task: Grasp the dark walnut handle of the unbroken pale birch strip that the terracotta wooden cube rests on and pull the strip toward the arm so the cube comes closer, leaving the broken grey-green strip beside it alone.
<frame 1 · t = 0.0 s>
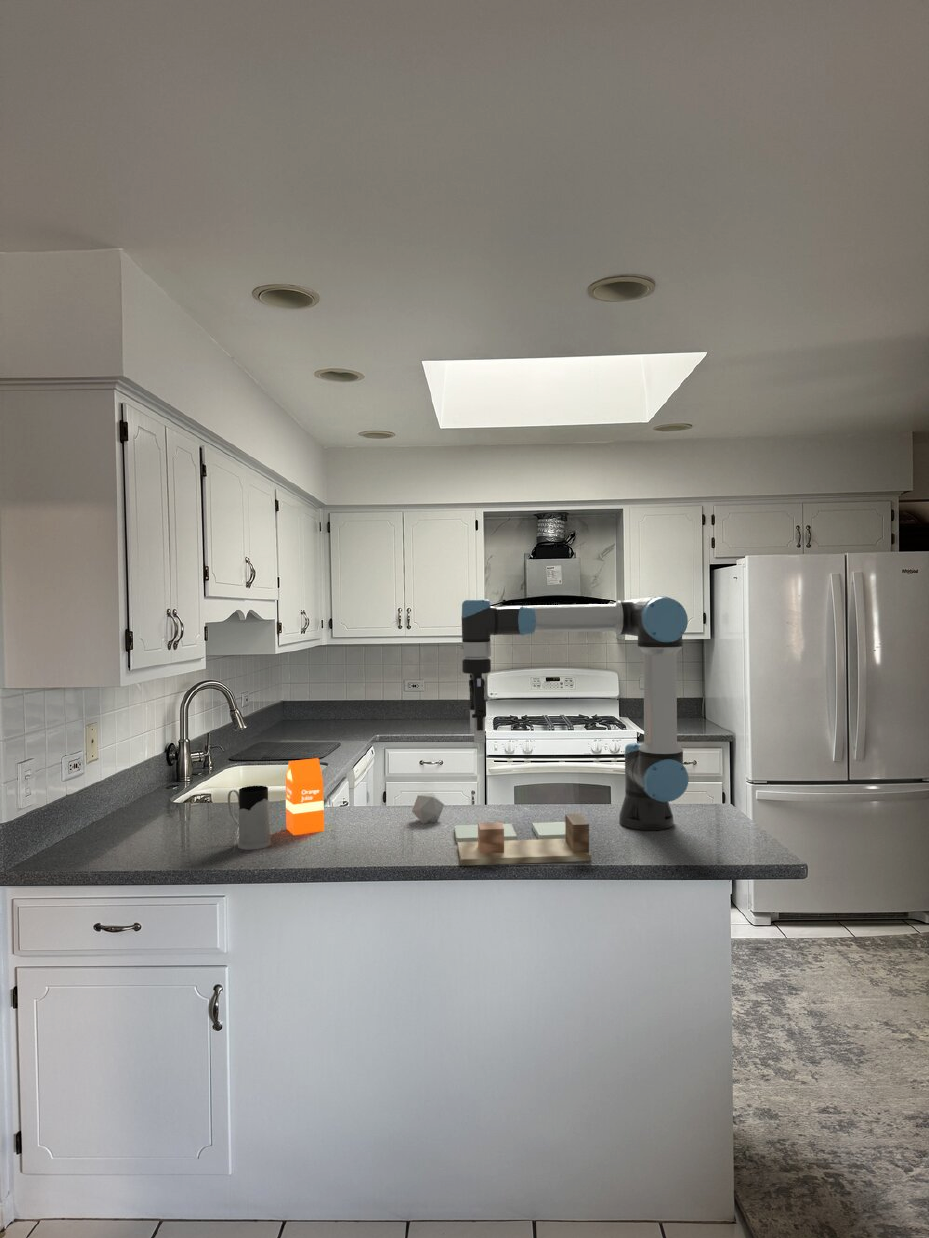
hand: (477, 738, 216), 28 cm above the worktop, tool pointing down, fingers open, 13 cm apart
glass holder: (247, 843, 220), on the worktop
strip: (522, 837, 207), point 4 cm above the worktop, slide at 0.0 cm, touching cube
orange juice: (305, 830, 232), on the worktop
broken strip: (513, 835, 224), on the worktop
grey block: (428, 821, 239), on the worktop
cube: (491, 849, 206), point 2 cm above the worktop, touching strip
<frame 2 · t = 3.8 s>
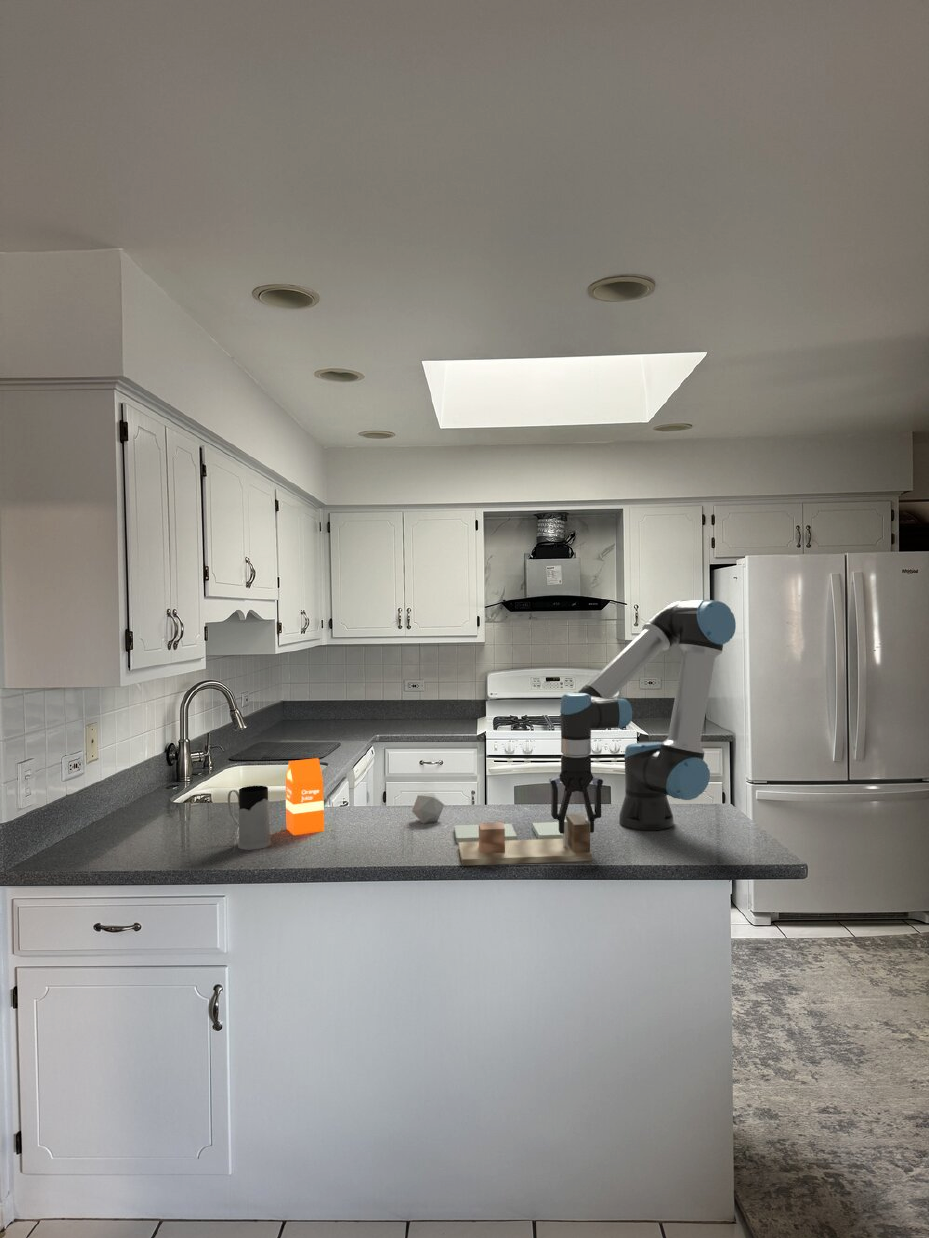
hand: (576, 845, 208), 2 cm above the worktop, tool pointing down, fingers closed on strip, 5 cm apart
strip: (523, 837, 207), point 4 cm above the worktop, slide at 0.2 cm, touching cube, gripper
everything else where it was.
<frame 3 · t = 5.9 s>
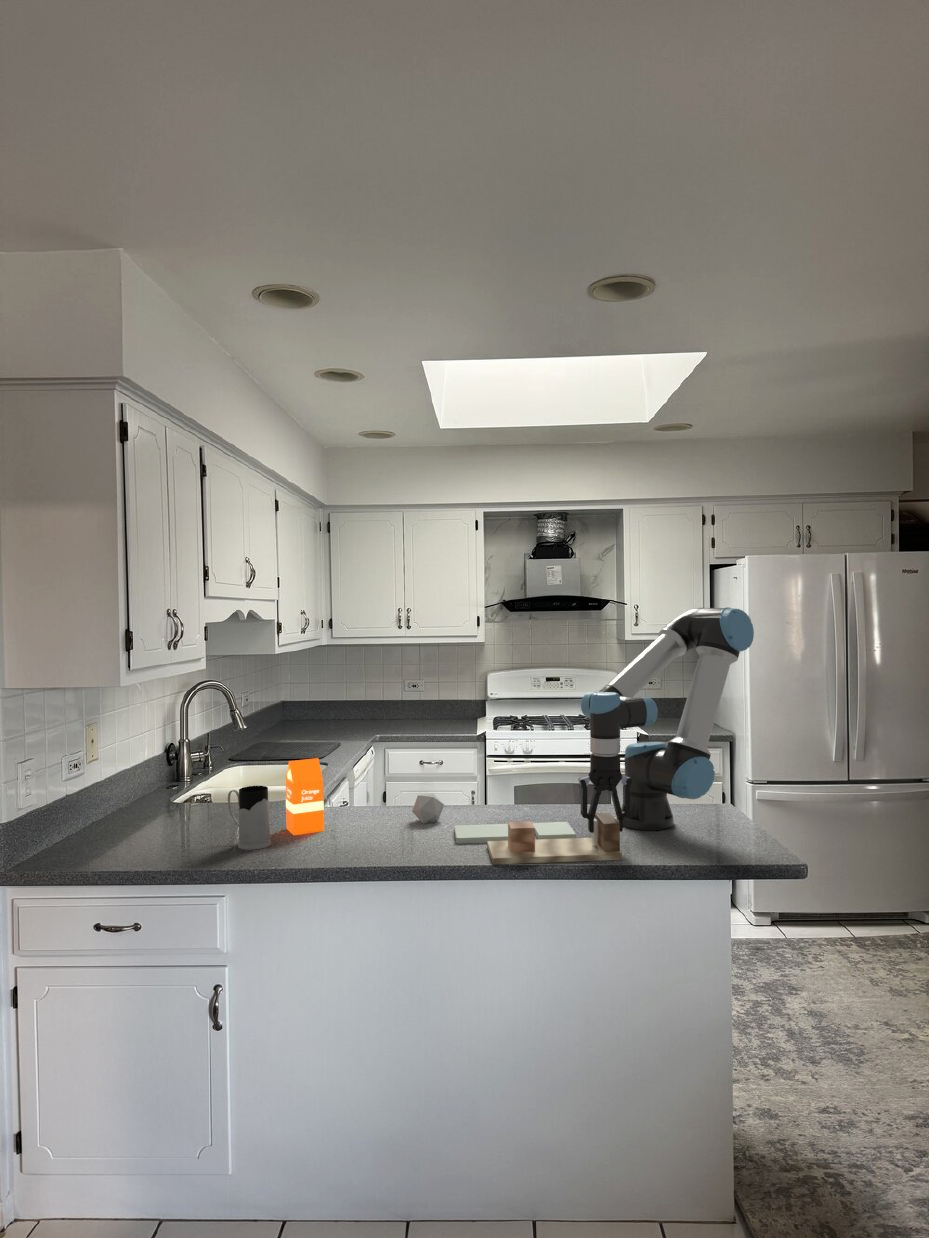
hand: (605, 844, 208), 2 cm above the worktop, tool pointing down, fingers closed on strip, 5 cm apart
strip: (552, 836, 207), point 4 cm above the worktop, slide at 7.8 cm, touching cube, gripper
cube: (521, 848, 207), point 2 cm above the worktop, touching strip
everything else where it was.
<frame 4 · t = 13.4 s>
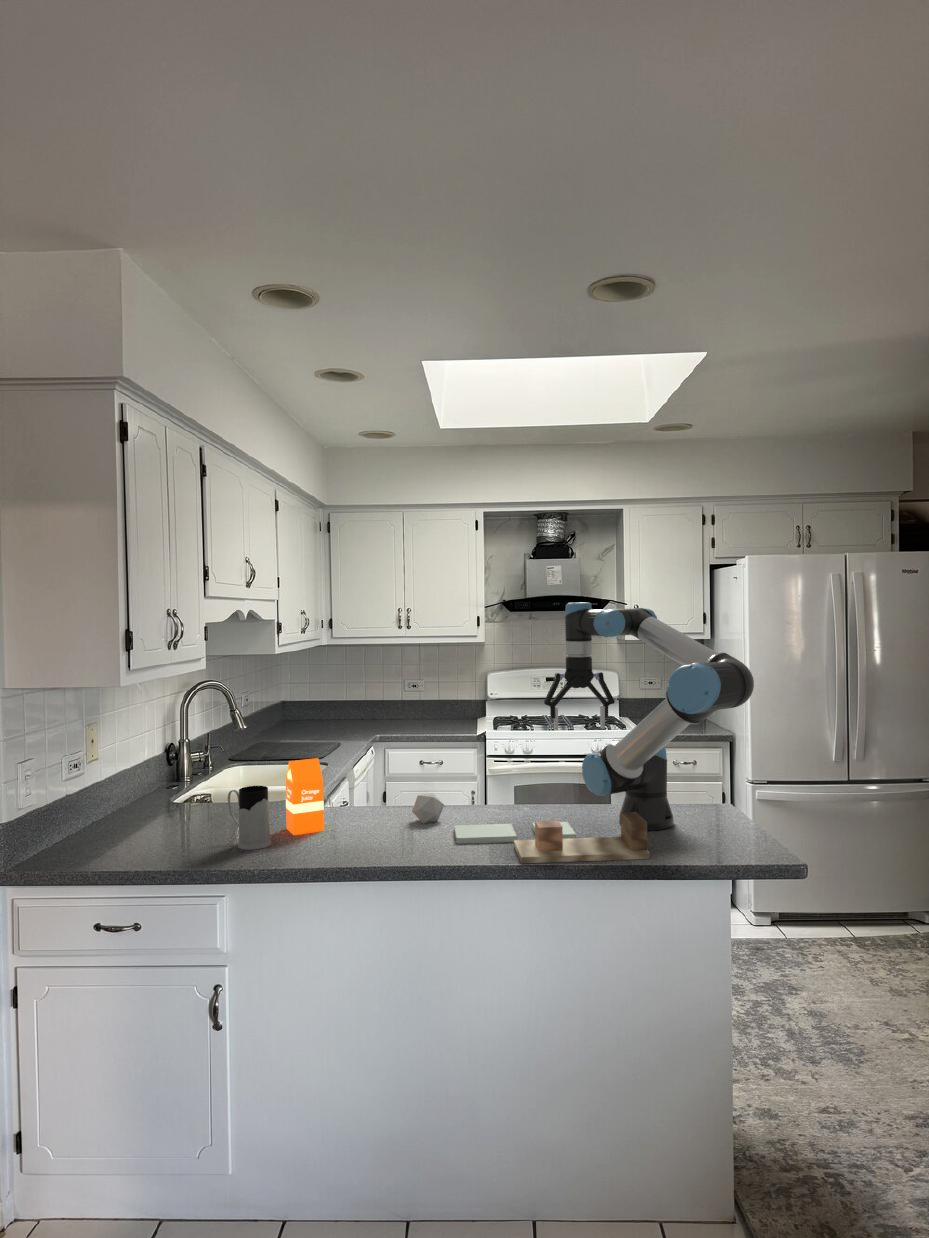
hand: (579, 729, 236), 27 cm above the worktop, tool pointing down, fingers open, 13 cm apart
strip: (579, 835, 208), point 4 cm above the worktop, slide at 14.7 cm, touching cube
cube: (548, 847, 207), point 2 cm above the worktop, touching strip
everything else where it was.
at the end: strip slide at 14.7 cm; cube inside the target area (0.3 cm from its centre), point 1.6 cm above the worktop; cube tilted 0° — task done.
